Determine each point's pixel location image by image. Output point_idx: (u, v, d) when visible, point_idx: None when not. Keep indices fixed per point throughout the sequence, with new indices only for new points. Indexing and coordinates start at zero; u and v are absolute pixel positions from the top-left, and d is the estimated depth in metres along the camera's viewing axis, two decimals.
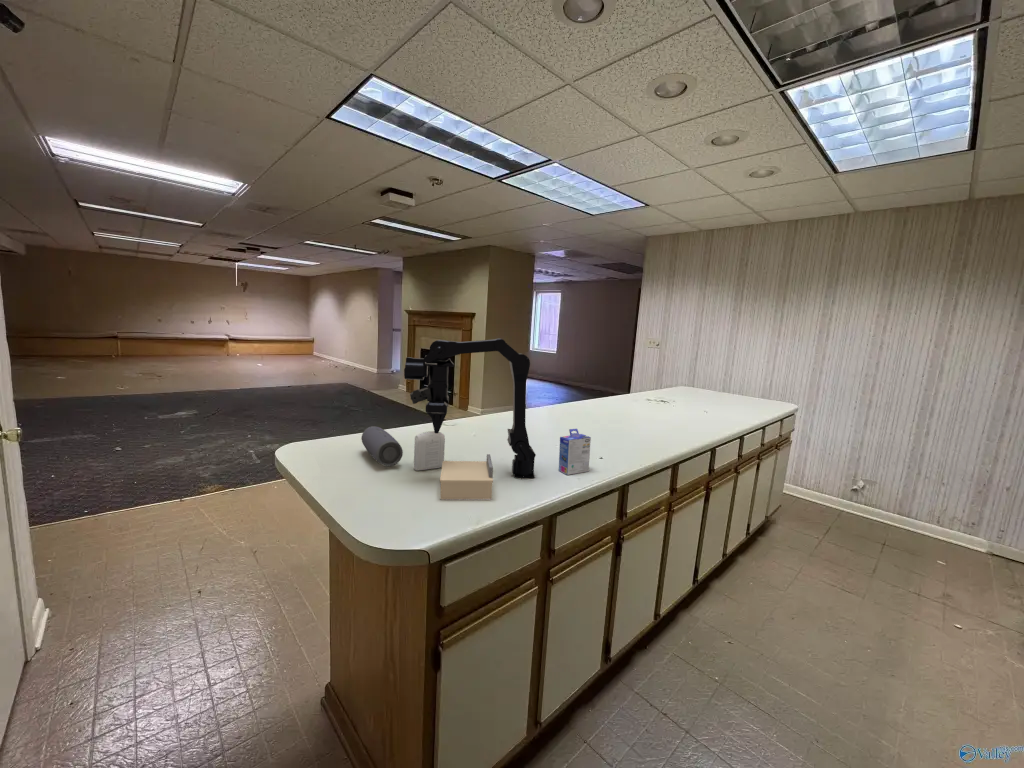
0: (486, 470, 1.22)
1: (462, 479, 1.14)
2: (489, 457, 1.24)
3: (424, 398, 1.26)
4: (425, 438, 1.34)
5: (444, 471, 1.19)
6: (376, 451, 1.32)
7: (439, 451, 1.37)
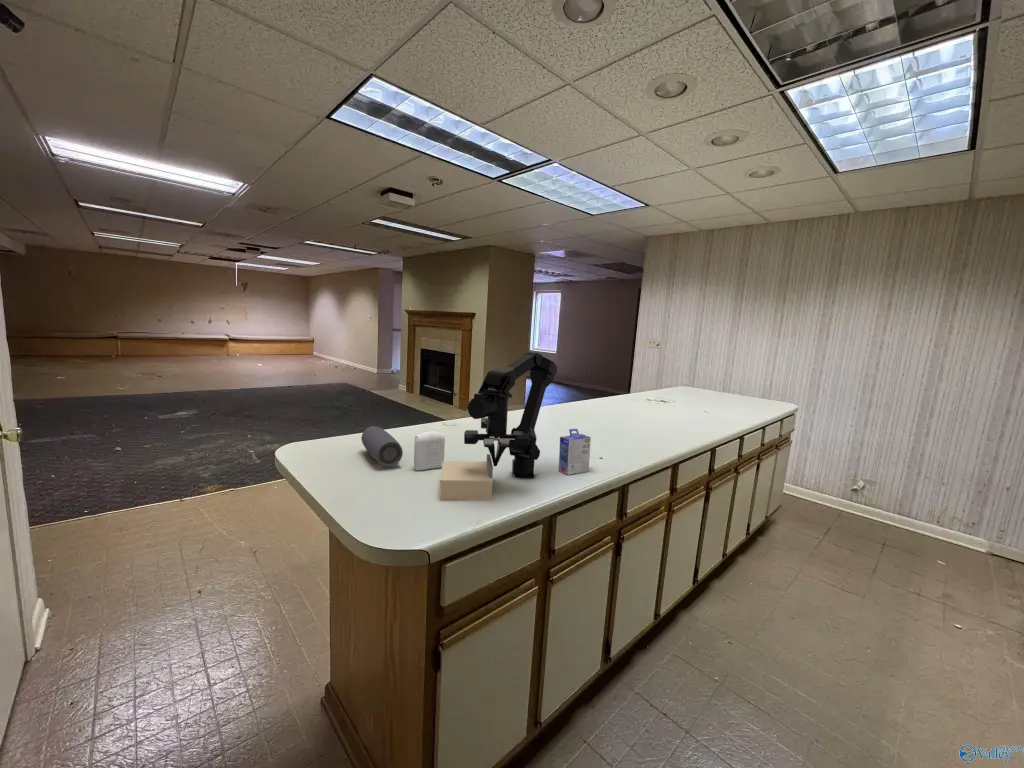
0: (486, 470, 1.22)
1: (462, 479, 1.14)
2: (489, 457, 1.24)
3: None
4: (425, 438, 1.34)
5: (444, 471, 1.19)
6: (376, 451, 1.32)
7: (439, 451, 1.37)
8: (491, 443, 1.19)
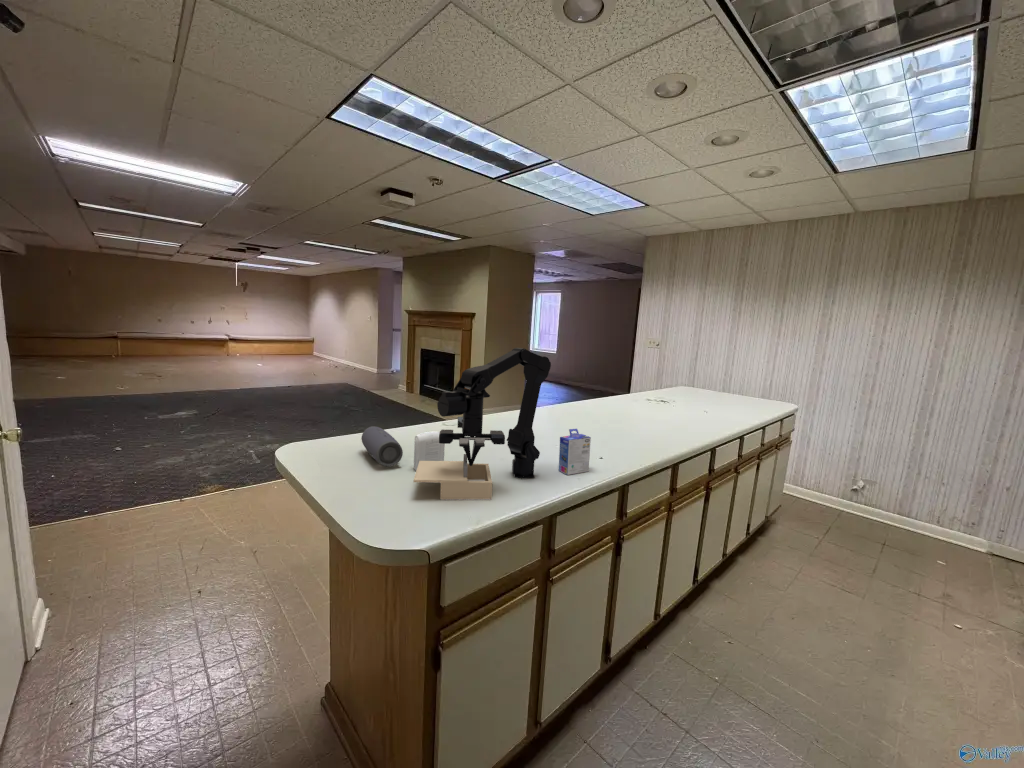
0: (462, 470, 1.21)
1: (436, 479, 1.13)
2: (465, 457, 1.24)
3: None
4: (425, 438, 1.34)
5: (419, 471, 1.18)
6: (376, 451, 1.32)
7: (439, 451, 1.37)
8: (466, 442, 1.18)
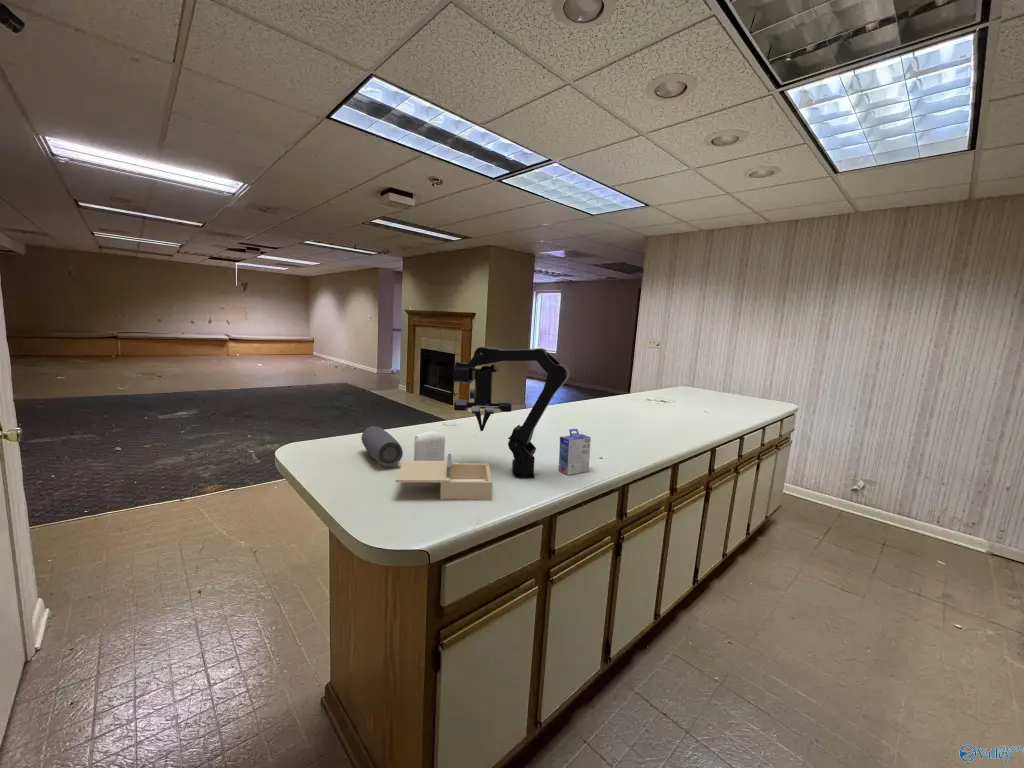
0: (445, 470, 1.20)
1: (418, 479, 1.12)
2: (449, 457, 1.23)
3: None
4: (425, 438, 1.34)
5: (402, 471, 1.18)
6: (376, 451, 1.32)
7: (439, 451, 1.37)
8: (478, 410, 1.35)
